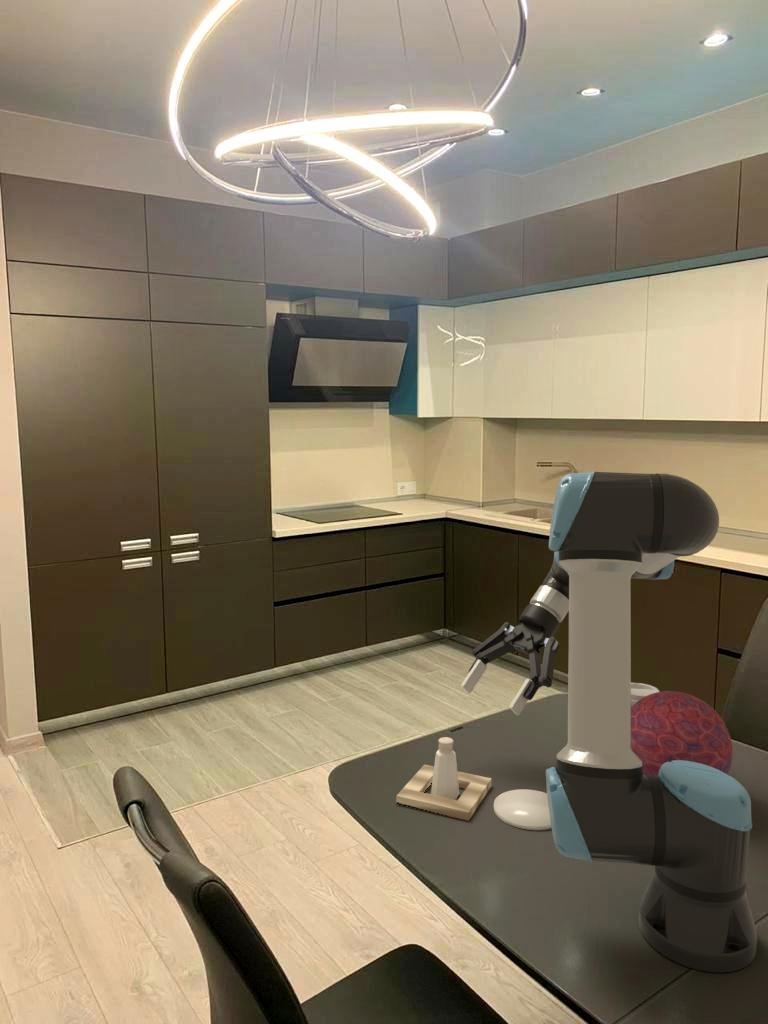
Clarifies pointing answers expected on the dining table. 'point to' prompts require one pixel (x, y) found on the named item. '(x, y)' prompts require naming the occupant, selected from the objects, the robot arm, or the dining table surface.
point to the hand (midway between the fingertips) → (488, 700)
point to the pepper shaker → (445, 771)
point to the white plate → (524, 809)
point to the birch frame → (458, 808)
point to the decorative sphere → (678, 732)
